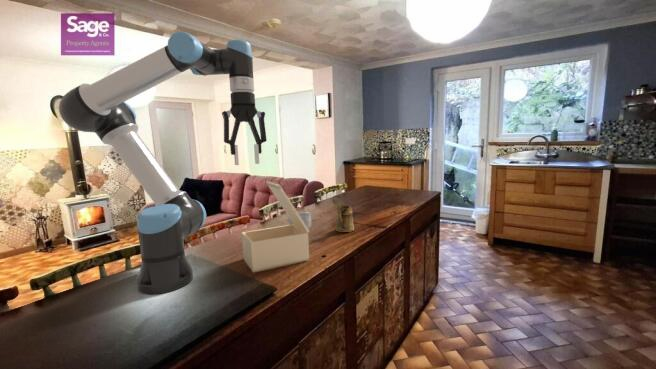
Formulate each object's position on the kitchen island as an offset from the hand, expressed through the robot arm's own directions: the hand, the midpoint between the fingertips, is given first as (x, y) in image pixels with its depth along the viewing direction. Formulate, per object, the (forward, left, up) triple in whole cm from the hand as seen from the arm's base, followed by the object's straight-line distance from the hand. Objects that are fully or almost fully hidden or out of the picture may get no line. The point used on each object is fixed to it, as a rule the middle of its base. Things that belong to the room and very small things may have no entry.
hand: (247, 164), depth 102 cm
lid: (+13, 0, -16) cm, 21 cm away
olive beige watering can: (+46, +17, -35) cm, 60 cm away
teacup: (+31, +30, -35) cm, 56 cm away
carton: (+8, 0, -35) cm, 36 cm away
